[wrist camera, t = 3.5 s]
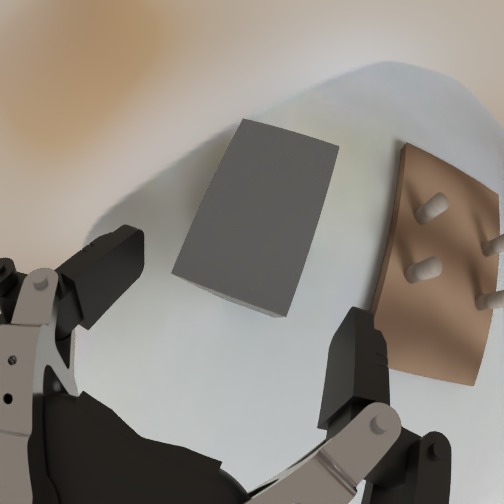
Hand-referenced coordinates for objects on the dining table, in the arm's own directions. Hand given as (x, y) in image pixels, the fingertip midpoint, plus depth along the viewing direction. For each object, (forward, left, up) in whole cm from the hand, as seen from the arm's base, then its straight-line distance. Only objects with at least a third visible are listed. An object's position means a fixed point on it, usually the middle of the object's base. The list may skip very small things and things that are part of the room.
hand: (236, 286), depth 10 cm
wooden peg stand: (-15, -3, -8) cm, 17 cm away
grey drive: (-1, -2, -8) cm, 9 cm away
